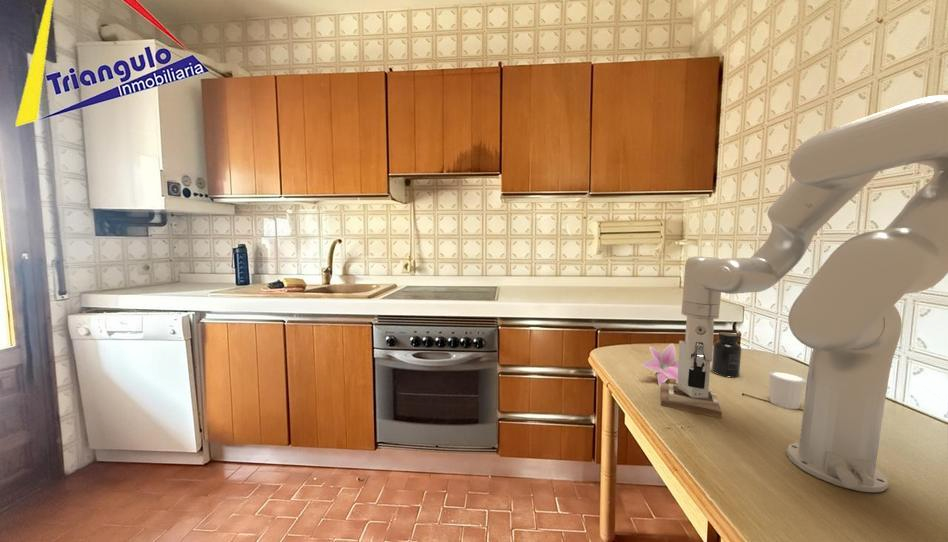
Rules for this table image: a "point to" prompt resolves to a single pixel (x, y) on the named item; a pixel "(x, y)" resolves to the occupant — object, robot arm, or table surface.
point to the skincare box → (683, 374)
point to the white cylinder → (786, 389)
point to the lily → (663, 363)
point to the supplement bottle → (727, 355)
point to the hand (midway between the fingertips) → (694, 380)
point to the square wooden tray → (689, 400)
